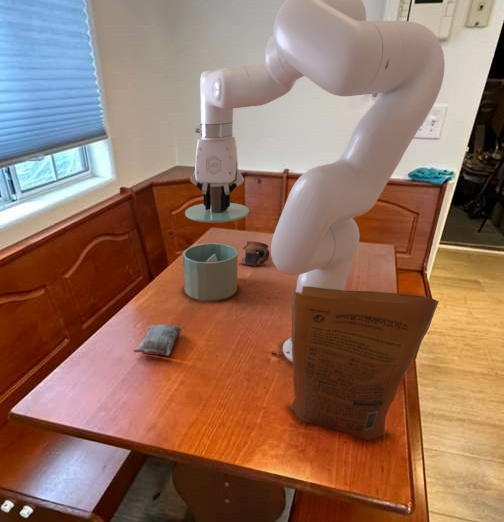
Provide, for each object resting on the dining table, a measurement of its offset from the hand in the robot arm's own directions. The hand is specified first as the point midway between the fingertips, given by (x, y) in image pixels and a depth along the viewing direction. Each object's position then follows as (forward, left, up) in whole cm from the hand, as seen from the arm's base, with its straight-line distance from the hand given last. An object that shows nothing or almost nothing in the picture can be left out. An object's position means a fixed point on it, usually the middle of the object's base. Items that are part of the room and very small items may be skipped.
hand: (216, 208), depth 105 cm
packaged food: (-31, +6, -26) cm, 40 cm away
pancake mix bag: (-46, -35, -26) cm, 63 cm away
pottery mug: (+27, -7, -26) cm, 38 cm away
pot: (+3, +3, -25) cm, 26 cm away
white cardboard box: (+3, +3, -25) cm, 26 cm away
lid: (0, 0, -1) cm, 1 cm away
